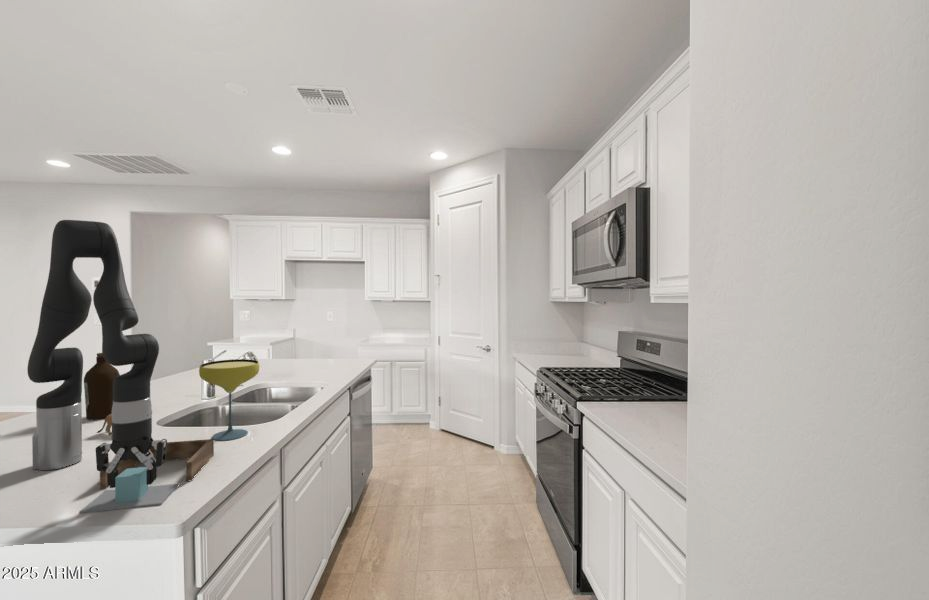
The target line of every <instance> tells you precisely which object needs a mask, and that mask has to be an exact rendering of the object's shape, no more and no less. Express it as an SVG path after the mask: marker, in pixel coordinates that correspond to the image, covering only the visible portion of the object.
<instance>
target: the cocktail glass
mask: <svg viewBox="0 0 929 600" xmlns="http://www.w3.org/2000/svg"><path fill="white" fill-rule="evenodd" d="M259 371H260V363H259V361H258V360H256V359H255V360H254V359H246V358H245V359H244V358H243V359H242V358H241V359H238V358H237V359H224V360H223V359H222V360H216V361H210V362H206V363H202V364H201V365H199V369H198V372H199V373H198V374H199V377H200V378H201V379H202V380H203V381H205V382H207V383H209V384H212V385H214V386H217V387H220V388H222V389H224V391H225V392H226V393H228V396H229V397H228V403H229V404H228V410H229V411H228V427H227V430H223V431H222V430H221V431H218V432H216V433H214V434H212V436H211V439H214V441H217V442H218V441H220V442H222V441H223V442H224V441H232V440H237V439H240V438H243V437H245V436H247V435H248V430H246V429H244V428H235V429H233V423H232V393H234V392H235V391H236V389H237V388H238V387H240V386H241V385H242V384H245V383H247V382H248V381H250V380H251V379H253V378H255V377H256V376H257V375H258V373H259Z"/></svg>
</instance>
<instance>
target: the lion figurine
mask: <svg viewBox="0 0 929 600" xmlns="http://www.w3.org/2000/svg"><path fill="white" fill-rule="evenodd" d="M104 429H105V432H106V433H107V434H108V435H109V436H112V430H111V429H112V414H110V415H108V416H107V417H106V419H104V422H103V425H102V427H101V429H99V430H98V431H97V432H96V433H97V434H99V433H101V432H102V431H103V430H104Z"/></svg>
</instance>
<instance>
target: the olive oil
mask: <svg viewBox="0 0 929 600" xmlns="http://www.w3.org/2000/svg"><path fill="white" fill-rule="evenodd" d="M95 360H96V362H95V364H94V365H93V366H92V367H91V368H89V370H87V371H86V373H85V375H84V377H83V387H84V401H85V417H86V420H88V421H100V420H105V419H106V417H107V416H108V415H110V414H112V406H113V381H114V379H115V378H116V377H117V376H120V375H121V373H120V372H119V370H118V369H117V368H116V366H113V365H111V364H109V363H108V362H107V361H106V360H105V359H104V357H103V354H102V352H97V353H96V359H95Z"/></svg>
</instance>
